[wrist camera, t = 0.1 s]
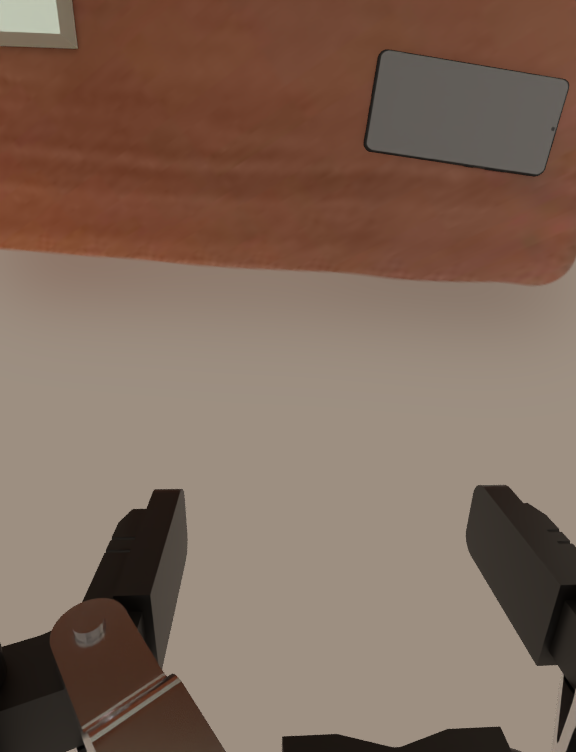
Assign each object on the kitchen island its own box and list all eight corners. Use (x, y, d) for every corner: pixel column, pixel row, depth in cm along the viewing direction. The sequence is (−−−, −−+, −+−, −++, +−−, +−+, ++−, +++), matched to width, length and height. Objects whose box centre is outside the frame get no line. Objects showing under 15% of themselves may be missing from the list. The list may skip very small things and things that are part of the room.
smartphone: (380, 46, 33) (572, 79, 34) (377, 51, 34) (565, 82, 35) (363, 150, 35) (543, 177, 37) (360, 151, 36) (537, 178, 38)
